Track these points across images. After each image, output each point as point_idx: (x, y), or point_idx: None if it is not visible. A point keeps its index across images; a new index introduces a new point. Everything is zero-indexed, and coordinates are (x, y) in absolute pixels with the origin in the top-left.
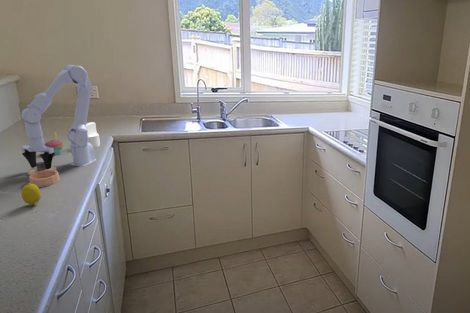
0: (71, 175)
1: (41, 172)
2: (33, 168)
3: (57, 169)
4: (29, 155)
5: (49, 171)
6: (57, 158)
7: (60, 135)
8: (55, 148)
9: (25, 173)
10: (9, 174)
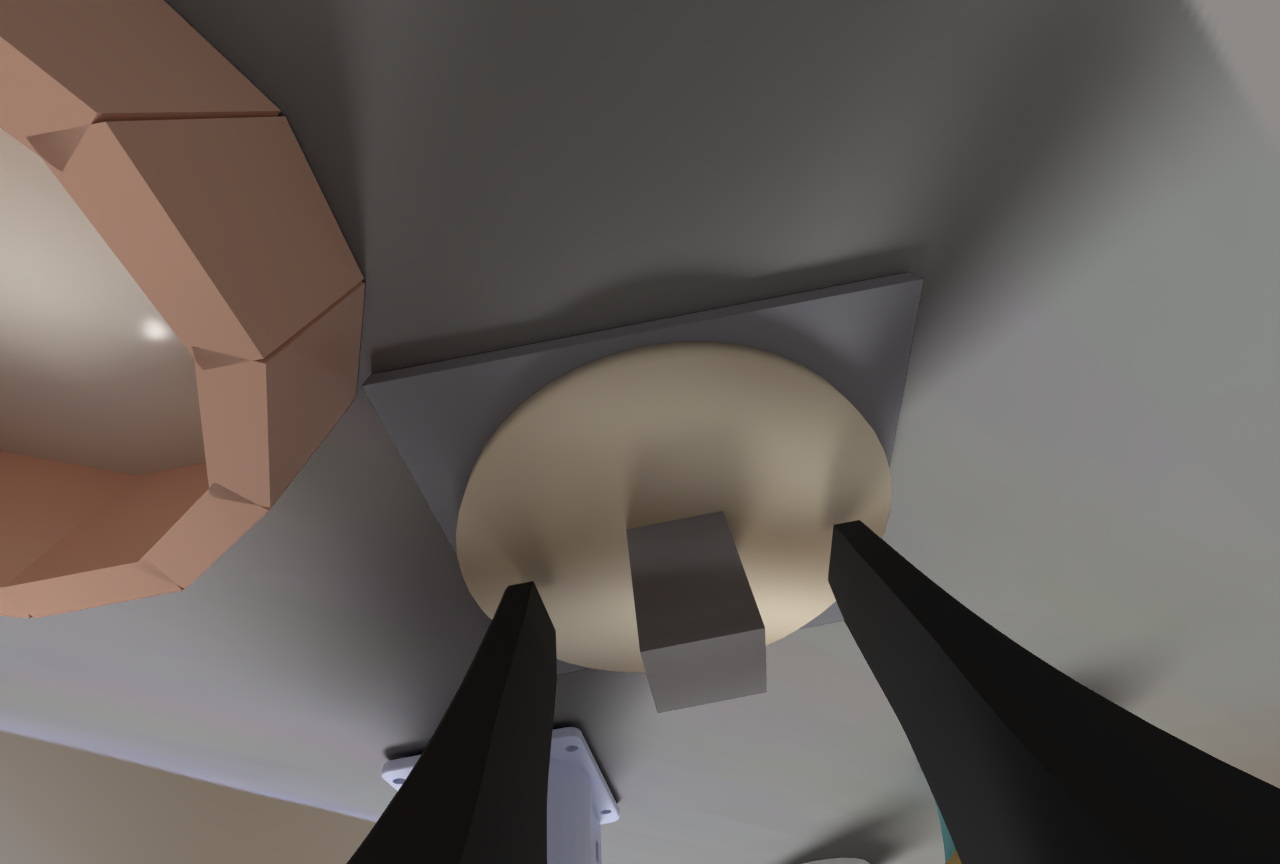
0: (172, 618)
1: (216, 433)
2: None
3: None
4: (1039, 825)
5: (157, 543)
6: (874, 741)
7: None
8: None
9: (881, 376)
10: (1191, 245)
